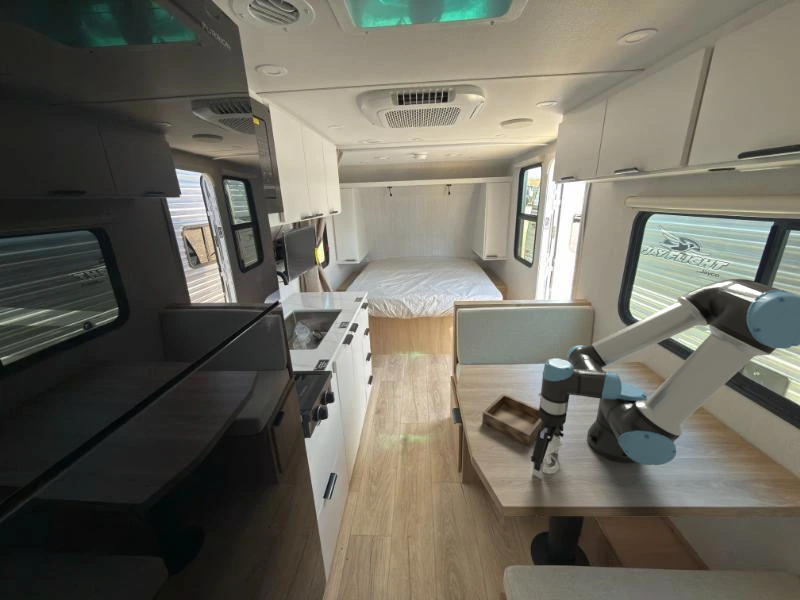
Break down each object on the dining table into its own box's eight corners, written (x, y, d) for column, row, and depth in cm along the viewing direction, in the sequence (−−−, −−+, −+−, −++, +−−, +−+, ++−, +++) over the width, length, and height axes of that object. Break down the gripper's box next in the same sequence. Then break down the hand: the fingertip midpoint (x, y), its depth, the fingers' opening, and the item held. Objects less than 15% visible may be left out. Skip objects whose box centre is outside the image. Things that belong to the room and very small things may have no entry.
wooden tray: (546, 423, 116) (547, 412, 115) (528, 447, 106) (529, 435, 104) (502, 403, 129) (503, 393, 127) (482, 423, 118) (482, 412, 117)
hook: (581, 460, 93) (567, 454, 91) (552, 481, 98) (538, 476, 95) (567, 438, 100) (553, 432, 97) (541, 459, 104) (527, 453, 102)
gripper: (555, 385, 103) (548, 436, 110) (522, 423, 87) (517, 480, 93) (579, 394, 98) (571, 447, 105) (550, 436, 82) (542, 495, 88)
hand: (545, 463), depth 99 cm, fingers open, 13 cm apart
